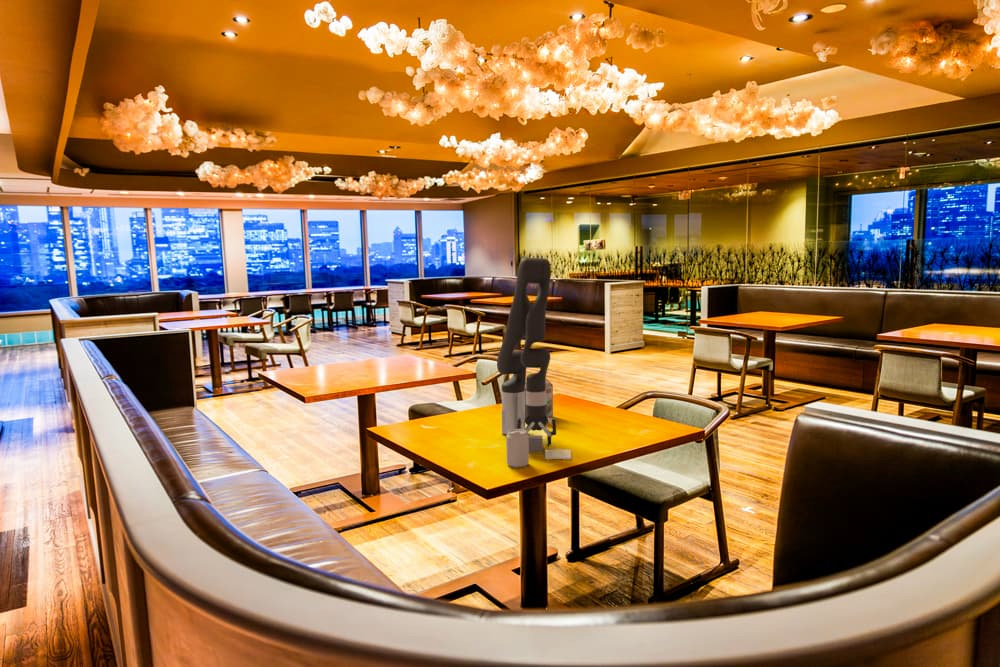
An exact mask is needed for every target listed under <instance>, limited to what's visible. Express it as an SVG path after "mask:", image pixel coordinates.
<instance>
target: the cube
mask: <svg viewBox="0 0 1000 667" xmlns="http://www.w3.org/2000/svg"><path fill="white" fill-rule="evenodd" d="M543 446H544V445H543V435H533V434H532V435H529V434H528V449H529V453H531V452H543V448H544V447H543ZM531 454H532V453H531Z"/></svg>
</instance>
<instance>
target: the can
mask: <svg viewBox="0 0 1000 667" xmlns="http://www.w3.org/2000/svg"><path fill="white" fill-rule="evenodd" d="M505 436H506V437H505V438H506V440H505V442H506V463H507V465H508V466H509V467H511V468H516V469H517V468H518V469H519V468H524V467H526V466H527V465H528V464H529V463H530V462H529V459H530V458H529V456H530V455H529V434H528V433H526V431H525V430H523V429H512V430H509V431H508V434H507V435H505Z"/></svg>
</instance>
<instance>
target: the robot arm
mask: <svg viewBox="0 0 1000 667" xmlns="http://www.w3.org/2000/svg"><path fill="white" fill-rule="evenodd" d="M551 269H552V268H551V264H550V261H549V260H548V259H547V258H544V257H543V258H541V257H540V258H539V257H522V259H521V260H520V262H519V265H518V270H517V275H516V282H515V289H514V294H513V298H512V299H513V300H512V303H511V306H510V309H509V310H510V311H509V315H508V319H507V325H506V330H505V333H504V338H503V340H502V343H501V347H500V348H499V352H498V356H497V360H496V361H497V362H496V366H497V371H498V373H499V374H501V375H505V376H506V375H508V376H509V375H512V376H511V377H510V379H507V380H506V381H504V382H503V383H501V384H502V385H501V434H502V435H505V436H507V434H508V431H509V430H512V429H523V430H525V431H526V433H527V434H528V433H530V431H543V432H544V433H545V434H546V435H547V436H546V438H547V443H546V444H547V447H548V448H549V447H550V446H551V445H552V436H556V435H557V425H556V424H557V423H556V417H554V416H553V417H551V418H549V419H548V418H547V399H546V379H547V374H548V373H547V372H548V369H549V365H550V362H551V353H550V351H549V350H548V349H547V348H541V347H540V348H537V347H536V348H532V346H533V345H534V344H536V343H539V342H544V341H545V340H546V313H547V312H546V311H547V305H548V300H549V299H548V297H549V290H550V284H551V275H552V274H551V273H552V270H551ZM529 284H533V285H535V284H536V285H537V284H538V293H537V296H536V297H535V300H534V302H533V303H531V301H530V298H529V297H528V293H527V288H528V285H529ZM522 340H524V345H523V349H522V350H520V349H519V350H515V349H516V347H517V346H518V344H520V343H521V342H522ZM527 368H529V369H530V368H531V369H532V368H533V369H534V368H535V369H539V371H538V372H534V373H530V374H527ZM525 384H526V418H525ZM548 423H549V424H550V425H551V426H552V430H551V431H550V429H549V428H548V426H547V424H548Z"/></svg>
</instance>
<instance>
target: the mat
mask: <svg viewBox="0 0 1000 667" xmlns="http://www.w3.org/2000/svg"><path fill="white" fill-rule="evenodd" d="M544 451H545V452H544V453H545V454H544V455H545V456H544V458H545V459H547V460H546V461H548V460H549V459H564V460H563V461H569V460H570V461H572V453H571V449H545V450H544ZM566 459H567V460H566ZM549 461H550V460H549Z"/></svg>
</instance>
